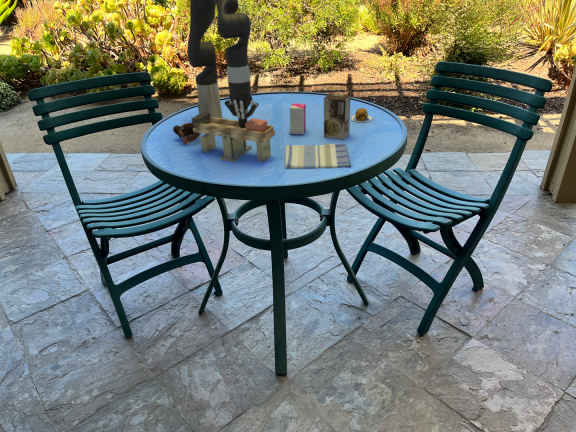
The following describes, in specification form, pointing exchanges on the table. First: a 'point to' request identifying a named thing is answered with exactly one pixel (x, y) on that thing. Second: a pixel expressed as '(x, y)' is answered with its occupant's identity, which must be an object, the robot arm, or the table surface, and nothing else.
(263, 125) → the block
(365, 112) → the hamburger
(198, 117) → the beam
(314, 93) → the table surface
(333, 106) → the coffee box
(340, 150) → the dish towel
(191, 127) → the pottery mug
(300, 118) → the supplement box
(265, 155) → the stand
